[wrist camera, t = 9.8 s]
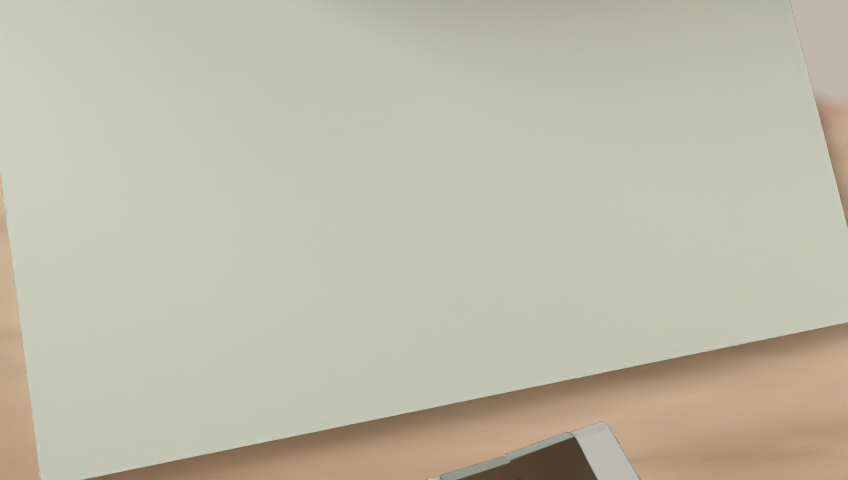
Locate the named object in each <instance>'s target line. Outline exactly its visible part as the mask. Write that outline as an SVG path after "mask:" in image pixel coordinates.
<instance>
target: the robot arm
mask: <svg viewBox="0 0 848 480" xmlns="http://www.w3.org/2000/svg"><path fill="white" fill-rule="evenodd" d="M441 478H442V479H441ZM427 480H641V479H640V478H639V476H638V474H637V473H636V471H635V469H634V467H633V466H632V464H631V462H630V461H629V459H628V457H627V456H626V454H625V452H624V450H623V449H622V447H621V445H620V444H619V442H618V440H617V439H616V437H615V435H614V434H613V432H612V430H611V428H610V427H609V426H608V425H607V424H606V423H604V422H598V423H595V424H593V425H590V426H587V427H584V428H581V429H578V430H576V431H573V432H570V433H569V432H566V433H563V434H560V435H558V436H555V437H552V438H549V439H546V440H543V441H541V442H538V443H535V444H532V445H529V446H526V447H523V448H521V449H518V450H515V451H512V452H509V453H506V454H505V455H504V456H501V457H498V458H495V459H491V460H488V461H485V462H482V463H478V464H475V465H472V466H469V467H466V468H462V469H459V470H456V471H453V472H449V473H446V474H443V475H441V477H440V475H439V476H436V477H433V478H430V479H427Z"/></svg>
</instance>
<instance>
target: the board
mask: <svg viewBox="0 0 848 480" xmlns="http://www.w3.org/2000/svg"><path fill="white" fill-rule="evenodd" d="M0 175H1V182H2V190H3V198H4V205H5V213H6V221H7V228H8V236H9V243H10V251H11V259H12V266H13V274H14V281H15V289H16V297H17V304H18V312H19V320H20V327H21V335H22V342H23V350H24V358H25V365H26V373H27V380H28V388H29V396H30V403H31V411H32V419H33V426H34V434H35V441H36V449H37V457H38V464H39V472H40V479H41V480H83V479H88V478H93V477H98V476H103V475H108V474H113V473H118V472H122V471H127V470H132V469H137V468H142V467H147V466H152V465H156V464H161V463H166V462H171V461H176V460H181V459H186V458H190V457H195V456H200V455H205V454H210V453H215V452H220V451H225V450H229V449H234V448H239V447H244V446H249V445H254V444H259V443H263V442H268V441H273V440H278V439H283V438H288V437H293V436H298V435H302V434H307V433H312V432H317V431H322V430H327V429H332V428H336V427H341V426H346V425H351V424H356V423H361V422H366V421H371V420H375V419H380V418H385V417H390V416H395V415H400V414H405V413H409V412H414V411H419V410H424V409H429V408H434V407H439V406H443V405H448V404H453V403H458V402H463V401H468V400H473V399H478V398H482V397H487V396H492V395H497V394H502V393H507V392H512V391H516V390H521V389H526V388H531V387H536V386H541V385H546V384H551V383H555V382H560V381H565V380H570V379H575V378H580V377H585V376H589V375H594V374H599V373H604V372H609V371H614V370H619V369H623V368H628V367H633V366H638V365H643V364H648V363H653V362H658V361H662V360H667V359H672V358H677V357H682V356H687V355H692V354H696V353H701V352H706V351H711V350H716V349H721V348H726V347H731V346H735V345H740V344H745V343H750V342H755V341H760V340H765V339H769V338H774V337H779V336H784V335H789V334H794V333H799V332H804V331H808V330H813V329H818V328H823V327H828V326H833V325H838V324H842V323H847V322H848V226H847V222H846V218H845V214H844V211H843V207H842V203H841V199H840V195H839V191H838V187H837V183H836V179H835V175H834V171H833V168H832V164H831V160H830V156H829V152H828V148H827V144H826V140H825V136H824V132H823V129H822V125H821V121H820V117H819V113H818V109H817V105H816V101H815V97H814V93H813V89H812V86H811V82H810V78H809V74H808V70H807V66H806V62H805V58H804V54H803V51H802V47H801V43H800V39H799V35H798V31H797V27H796V23H795V19H794V15H793V11H792V8H791V4H790V0H0Z"/></svg>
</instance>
